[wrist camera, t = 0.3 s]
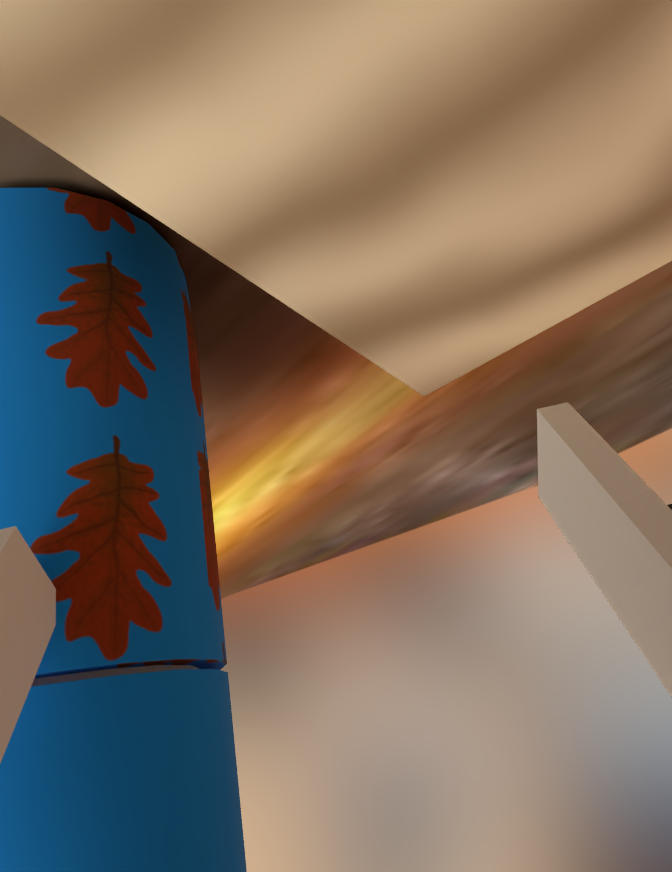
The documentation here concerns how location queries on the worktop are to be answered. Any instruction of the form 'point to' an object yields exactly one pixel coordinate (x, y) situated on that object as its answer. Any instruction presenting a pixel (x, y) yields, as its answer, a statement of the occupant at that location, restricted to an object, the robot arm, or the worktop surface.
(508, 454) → the worktop surface
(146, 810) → the thermos
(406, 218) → the stool
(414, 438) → the worktop surface
